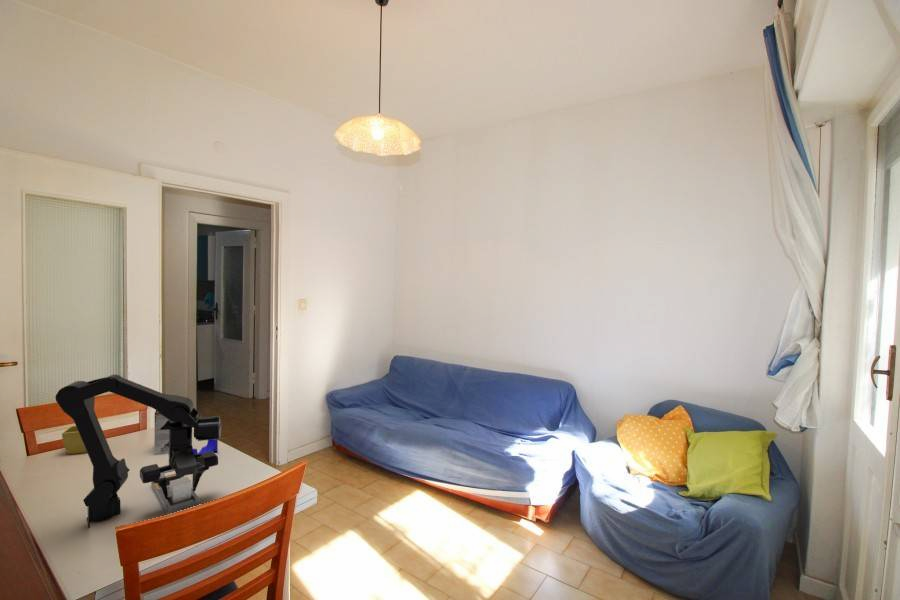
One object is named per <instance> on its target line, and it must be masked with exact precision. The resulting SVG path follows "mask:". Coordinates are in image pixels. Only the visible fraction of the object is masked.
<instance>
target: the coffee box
mask: <svg viewBox="0 0 900 600" xmlns="http://www.w3.org/2000/svg"><path fill="white" fill-rule="evenodd" d="M167 420H168V419H167V418H166V417H164V416H162V415H161V414H160V413H159V412H158V411H157V410H155V411H154V442H153V443H154V447H153V449H154V452H153V453H154V455H160V454H161V455H162V454H169V429H168V430H161V429H160V428H161V427H162V426H163V424H165V423H166V422H167Z"/></svg>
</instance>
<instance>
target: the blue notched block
mask: <svg viewBox="0 0 900 600" xmlns="http://www.w3.org/2000/svg"><path fill="white" fill-rule="evenodd" d="M218 440H219V439H213V440H207V443H206V445H205V446H203V447H201V448H200V450H199V451H198V448H193V453H194V455H195V454H201V453H205V452H210V451H212V452H214V453H217V452H219V451H218V450H219V449H218V442H219V441H218ZM217 454H218V453H217Z"/></svg>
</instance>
